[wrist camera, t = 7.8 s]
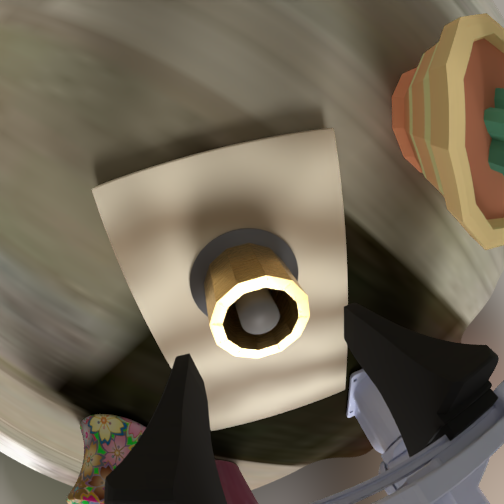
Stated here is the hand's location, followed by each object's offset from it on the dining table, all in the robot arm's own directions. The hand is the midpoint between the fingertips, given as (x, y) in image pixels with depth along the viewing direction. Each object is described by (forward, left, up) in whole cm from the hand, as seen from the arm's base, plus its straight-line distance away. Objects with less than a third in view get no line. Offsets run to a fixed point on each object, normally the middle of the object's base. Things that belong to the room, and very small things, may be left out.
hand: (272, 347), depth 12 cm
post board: (-4, 0, -7) cm, 8 cm away
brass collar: (0, 0, -6) cm, 6 cm away
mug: (-15, +16, -8) cm, 23 cm away
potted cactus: (+8, -17, -8) cm, 20 cm away
